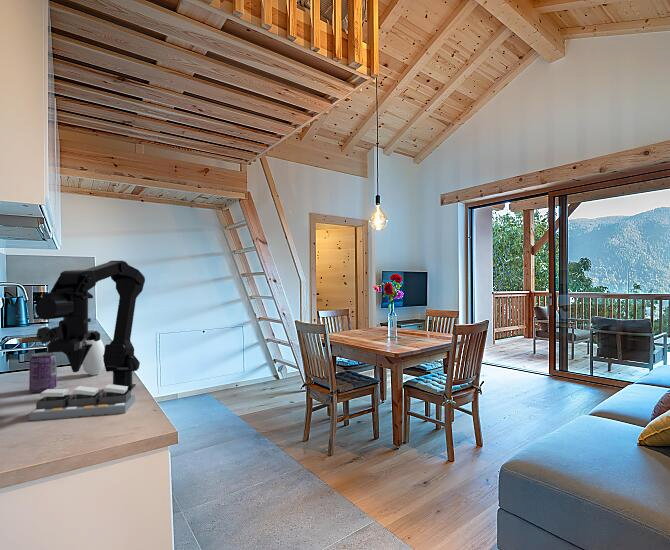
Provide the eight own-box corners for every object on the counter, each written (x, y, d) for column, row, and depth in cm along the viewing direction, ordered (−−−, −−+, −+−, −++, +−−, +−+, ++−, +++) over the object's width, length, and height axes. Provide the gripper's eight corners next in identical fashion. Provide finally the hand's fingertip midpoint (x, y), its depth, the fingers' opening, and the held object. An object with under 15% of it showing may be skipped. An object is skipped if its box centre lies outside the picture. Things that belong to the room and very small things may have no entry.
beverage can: (52, 385, 130) (53, 350, 130) (59, 389, 126) (59, 353, 126) (26, 390, 125) (26, 354, 125) (32, 394, 120) (32, 356, 120)
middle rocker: (78, 389, 107) (78, 385, 107) (98, 391, 108) (99, 388, 109) (72, 393, 104) (73, 389, 104) (93, 395, 105) (94, 392, 105)
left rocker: (47, 392, 105) (47, 389, 105) (68, 392, 107) (68, 389, 107) (40, 396, 102) (40, 392, 102) (62, 396, 103) (63, 392, 103)
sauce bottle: (79, 378, 140) (79, 329, 140) (83, 373, 147) (84, 326, 147) (104, 376, 143) (104, 328, 143) (107, 371, 150) (107, 325, 150)
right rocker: (107, 387, 109) (108, 383, 109) (127, 389, 110) (128, 386, 110) (103, 391, 106) (104, 387, 106) (123, 393, 107) (124, 390, 107)
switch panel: (47, 407, 108) (47, 392, 108) (134, 401, 114) (135, 386, 114) (28, 420, 98) (28, 403, 98) (125, 413, 104) (125, 396, 104)
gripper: (59, 313, 113) (58, 365, 113) (22, 320, 95) (22, 383, 95) (100, 312, 115) (100, 363, 115) (73, 319, 97) (73, 380, 97)
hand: (75, 371), depth 106 cm, fingers closed
